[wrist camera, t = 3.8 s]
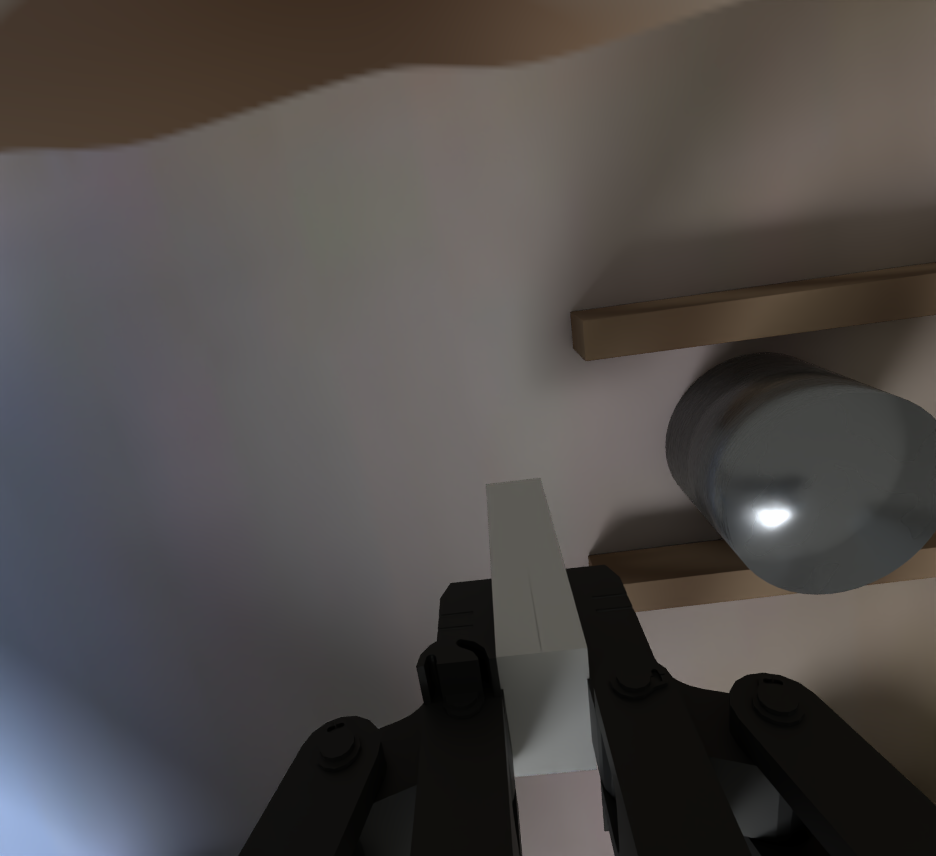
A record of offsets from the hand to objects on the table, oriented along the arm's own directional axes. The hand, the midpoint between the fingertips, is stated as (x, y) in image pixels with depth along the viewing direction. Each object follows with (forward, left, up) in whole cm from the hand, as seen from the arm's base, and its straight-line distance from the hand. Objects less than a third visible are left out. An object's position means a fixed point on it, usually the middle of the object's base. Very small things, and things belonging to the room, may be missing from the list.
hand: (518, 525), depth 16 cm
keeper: (+9, 0, -5) cm, 10 cm away
